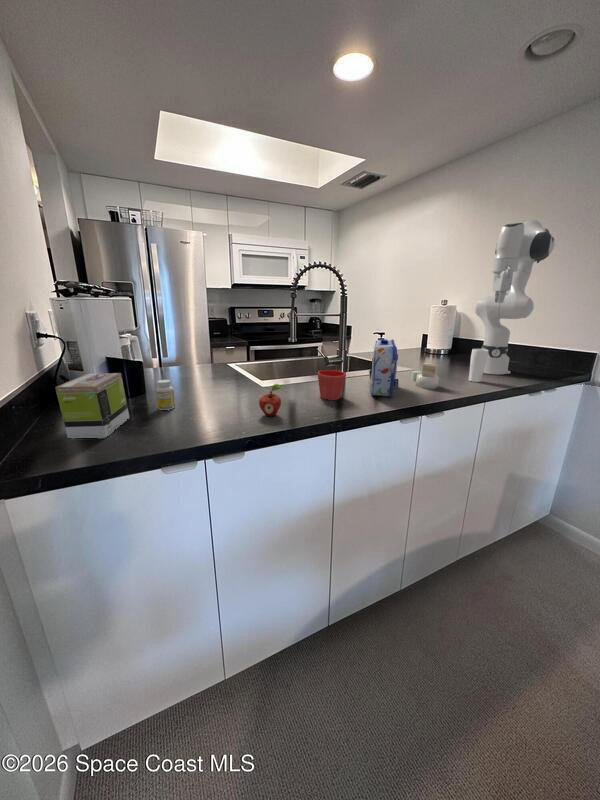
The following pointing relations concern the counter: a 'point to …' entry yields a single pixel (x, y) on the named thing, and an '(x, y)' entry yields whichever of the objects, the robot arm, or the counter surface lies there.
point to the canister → (427, 381)
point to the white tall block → (477, 364)
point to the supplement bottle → (165, 395)
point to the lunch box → (384, 368)
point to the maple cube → (428, 370)
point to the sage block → (415, 374)
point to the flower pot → (331, 384)
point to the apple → (270, 402)
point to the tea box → (93, 405)
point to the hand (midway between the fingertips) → (498, 302)
